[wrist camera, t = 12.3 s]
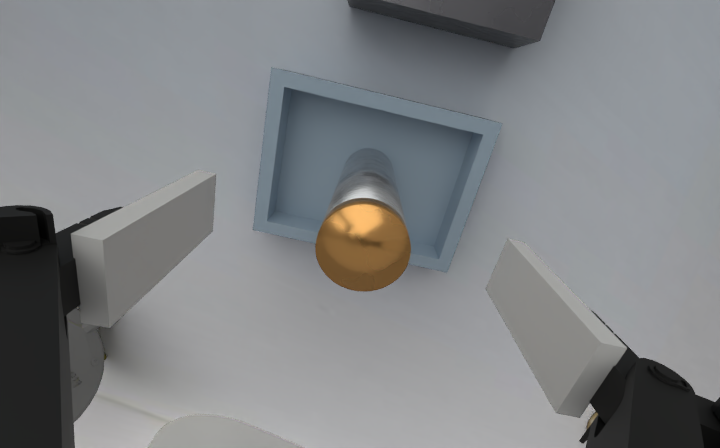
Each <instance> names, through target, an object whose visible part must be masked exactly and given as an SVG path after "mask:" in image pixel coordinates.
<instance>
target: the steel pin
mask: <svg viewBox="0 0 720 448" xmlns="http://www.w3.org/2000/svg"><path fill="white" fill-rule="evenodd" d="M315 247H316V257H317V260H318V263H319V265H320V267H321V269H322V270H323V272H324V273H325V274H326V275H327V276H328V277H329V278H330V279H331V280H332V281H333V282H335V283H336V284H338V285H340V286H342V287H344V288H347V289H350V290H355V291H373V290H378V289H381V288H384V287H386V286H388V285H390V284H391V283H393V282H394V281H395V280H397V279H398V278H399V277H400V276H401V275H402V273H403V272H404V271H405V269H406V267H407V265H408V262H409V259H410V255H411V243H410V238H409V234H408V230H407V226H406V222H405V217H404V213H403V209H402V205H401V201H400V196H399V192H398V188H397V184H396V180H395V175H394V171H393V167H392V164H391V162H390V160H389V158H388V157H387V156H386V155H385V154H384V153H382V152H381V151H379V150H376V149H372V148H364V149H360V150H358V151H356V152H354V153H353V154H352V155H351V156H350V157H349V158H348V159H347V161H346V163H345V165H344V168H343V171H342V173H341V176H340V178H339V181H338V183H337V186H336V189H335V191H334V194H333V196H332V199H331V202H330V204H329V207H328V209H327V212H326V214H325V217H324V220H323V222H322V225H321V227H320V230H319V233H318V235H317V239H316V246H315Z"/></svg>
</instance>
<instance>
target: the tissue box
mask: <svg viewBox="0 0 720 448" xmlns="http://www.w3.org/2000/svg"><path fill="white" fill-rule="evenodd" d="M148 448H305V447H302V446H300V445H298V444H295V443H293V442H290V441H288V440H286V439H283V438H281V437H279V436H276V435H274V434H271V433H269V432H267V431H264V430H262V429H259V428H257V427H255V426H252V425H250V424H248V423H245V422H242V421H239V420H236V419H233V418H229V417H225V416H219V415H208V414H194V415H187V416H183V417H181V418H178V419H176V420H173V421H171V422H169V423H168V424H166V425H165V426H163V427H162V428H161V429H160V430H159V431H158V432H157V433H156V435H155V437H154V438H153V440H152V441H151V443H150V445H149V446H148Z"/></svg>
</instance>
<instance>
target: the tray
mask: <svg viewBox="0 0 720 448" xmlns="http://www.w3.org/2000/svg"><path fill="white" fill-rule="evenodd" d="M501 126H502V123H499V122H495V121H491V120H488V119H483V118H479V117H475V116H471V115H467V114H463V113H459V112H455V111H451V110H446V109H442V108H438V107H434V106H430V105H426V104H422V103H418V102H414V101H409V100H405V99H401V98H397V97H393V96H389V95H385V94H381V93H377V92H373V91H368V90H364V89H360V88H356V87H352V86H348V85H344V84H340V83H336V82H331V81H327V80H323V79H319V78H315V77H311V76H307V75H303V74H299V73H294V72H290V71H286V70H282V69H277V68H272V67H271V75H270V84H269V93H268V102H267V110H266V119H265V128H264V137H263V145H262V154H261V163H260V172H259V180H258V189H257V198H256V207H255V216H254V224H253V230H255V231H260V232H265V233H269V234H274V235H278V236H283V237H287V238H292V239H296V240H301V241H306V242H310V243H315V244H316V239H317V235H318V233H319V230H320V227H321V225H322V222H323V220H324V217H325V214H326V212H327V209H328V207H329V204H330V202H331V199H332V196H333V194H334V191H335V189H336V186H337V183H338V181H339V178H340V176H341V173H342V171H343V168H344V165H345V163H346V161H347V159H348V158H349V157H350V156H351V155H352V154H353V153H354V152H356V151H358V150H360V149H364V148H372V149H376V150H379V151H381V152H382V153H384V154H385V155H386V156H387V157H388V158H389V160H390V162H391V164H392V167H393V171H394V175H395V180H396V184H397V188H398V192H399V196H400V201H401V205H402V209H403V213H404V217H405V222H406V226H407V230H408V234H409V238H410V243H411V255H410V259H409V262H408V264H410V265H415V266H419V267H424V268H428V269H433V270H437V271H442V272H448V269H449V266H450V264H451V261H452V258H453V255H454V253H455V250H456V247H457V245H458V242H459V239H460V237H461V234H462V231H463V229H464V226H465V223H466V221H467V218H468V215H469V212H470V210H471V207H472V204H473V202H474V199H475V196H476V194H477V191H478V188H479V186H480V183H481V180H482V178H483V175H484V172H485V169H486V167H487V164H488V161H489V159H490V156H491V153H492V151H493V148H494V145H495V143H496V140H497V137H498V135H499V132H500V129H501Z"/></svg>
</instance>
